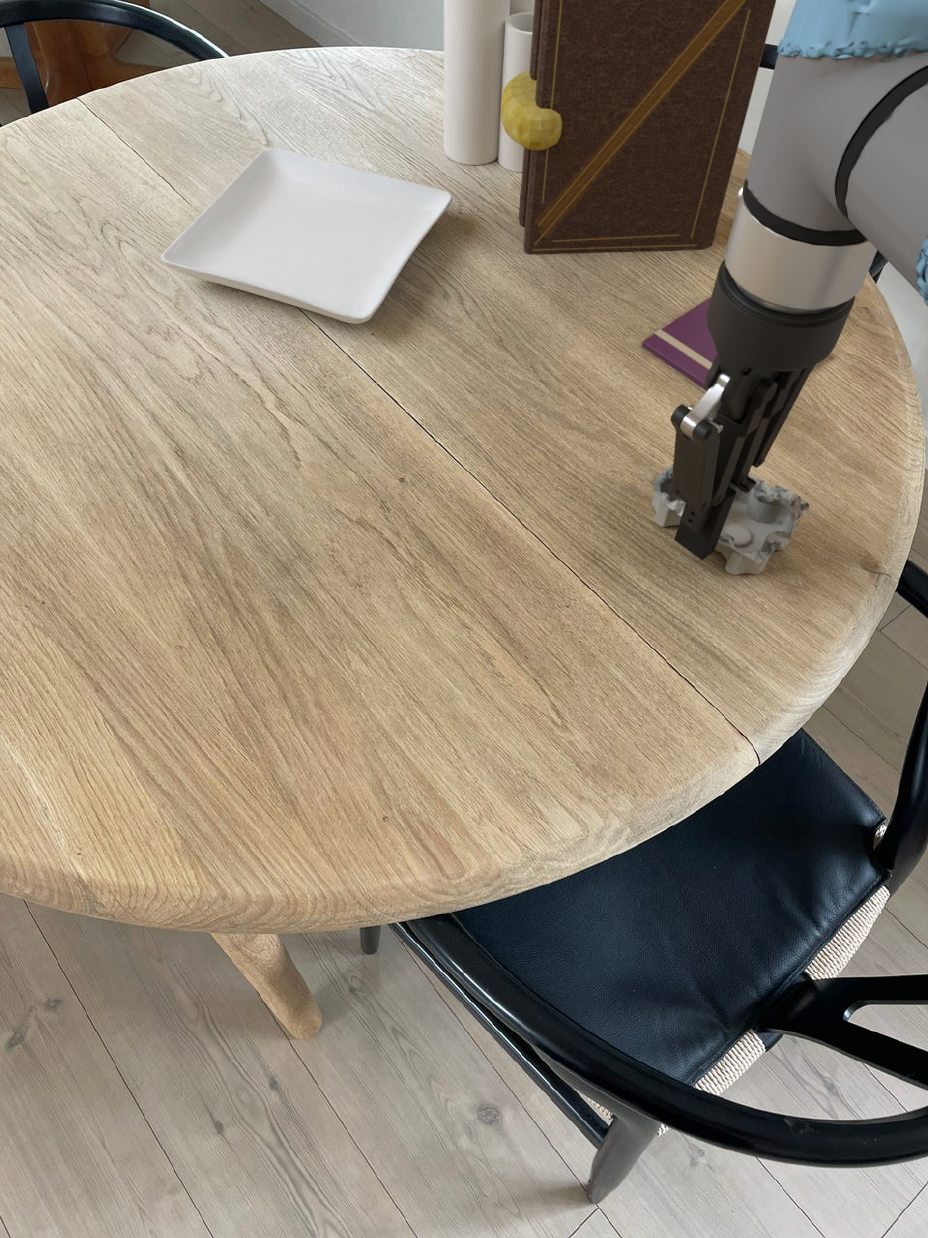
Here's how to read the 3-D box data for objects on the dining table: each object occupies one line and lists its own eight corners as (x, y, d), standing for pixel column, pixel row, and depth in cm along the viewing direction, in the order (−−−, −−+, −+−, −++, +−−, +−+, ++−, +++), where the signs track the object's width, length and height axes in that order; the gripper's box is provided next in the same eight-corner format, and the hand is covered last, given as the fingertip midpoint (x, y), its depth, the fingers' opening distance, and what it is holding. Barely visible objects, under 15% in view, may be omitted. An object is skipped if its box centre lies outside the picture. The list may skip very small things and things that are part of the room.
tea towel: (828, 355, 88) (831, 349, 87) (745, 417, 83) (748, 410, 83) (725, 291, 93) (726, 285, 92) (641, 346, 88) (642, 340, 88)
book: (702, 205, 101) (770, -73, 80) (720, 255, 96) (797, -26, 75) (490, 210, 100) (504, -71, 79) (498, 261, 95) (514, -24, 74)
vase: (437, 161, 104) (437, -50, 88) (451, 125, 108) (453, -82, 92) (541, 175, 103) (560, -36, 87) (551, 139, 107) (571, -69, 91)
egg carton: (801, 540, 76) (818, 505, 72) (742, 592, 73) (757, 559, 69) (695, 464, 80) (706, 428, 77) (634, 511, 77) (644, 475, 74)
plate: (456, 219, 98) (457, 188, 96) (369, 349, 87) (367, 317, 84) (269, 172, 103) (265, 141, 100) (163, 290, 91) (154, 258, 88)
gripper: (803, 199, 57) (709, 474, 77) (660, 290, 52) (598, 561, 72) (913, 258, 54) (787, 529, 74) (772, 361, 49) (676, 623, 69)
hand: (694, 544), depth 73 cm, fingers closed
